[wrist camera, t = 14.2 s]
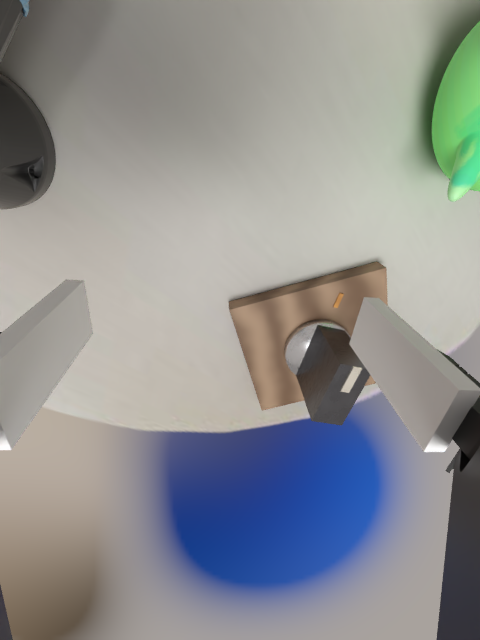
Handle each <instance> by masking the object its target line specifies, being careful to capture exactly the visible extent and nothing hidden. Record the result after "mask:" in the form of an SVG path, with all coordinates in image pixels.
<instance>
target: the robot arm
mask: <svg viewBox="0 0 480 640" xmlns="http://www.w3.org/2000/svg"><path fill="white" fill-rule="evenodd" d="M28 2H29V0H0V62H1V60H2V58H3V56H4V54H5V52H6V50H7V47H8V45H9V43H10V41H11V39H12V37H13V35H14V33H15V30H16V28H17V26H18V24H19V22H20V20H21V18H22V16H24V17H26V16H27V15H28V12H29V4H28ZM54 170H55V151H54V145H53V141H52V137H51V134H50V132H49V129H48V127H47V125H46V122H45V120H44V119H43V117H42V115H41V113H40V112H39V110H38V109H37V107H36V106H35V104H34V103H33V102H32V101H31V99H30V98H29V97H28V96H27V95H26V94H25V93H24V92H23V91H22V90H21V89H20V88H19V87H18V86H17V85H16V84H15V83H13V82H12V81H11V80H9V79H8V78H7V77H5V76H4V75H2V74H0V209H11V208H16V207H20V206H24V205H27V204H30V203H32V202H34V201H36V200H37V199H39V198H40V197H41V196H42V195H43V194H44V193H45V192H46V190H47V189H48V187H49V186H50V183H51V181H52V178H53V175H54ZM92 334H93V331H92V325H91V319H90V313H89V307H88V301H87V295H86V289H85V283H84V281H80V280H65V281H64V282H63V283H61V284H60V285H59V286H58V287H57V288H55V289H54V290H53V291H52V292H50V293H49V294H48V295H47V296H46V297H44V298H43V299H42V300H41V301H40V302H38V303H37V304H36V305H35V306H33V307H32V308H31V309H30V310H29V311H27V312H26V313H25V314H24V315H23V316H21V317H20V318H19V319H18V320H16V321H15V322H14V323H13V324H12V325H10V326H9V327H8V328H7V329H6V330H4V331H3V332H0V450H12V448H13V447H14V446H15V444H16V443H17V441H18V440H19V439H20V437H21V436H22V434H23V433H24V431H25V430H26V428H27V427H28V425H29V424H30V423H31V421H32V420H33V418H34V417H35V416H36V414H37V413H38V411H39V410H40V408H41V407H42V406H43V404H44V403H45V401H46V400H47V398H48V397H49V396H50V394H51V393H52V391H53V390H54V388H55V387H56V386H57V384H58V383H59V381H60V380H61V378H62V377H63V376H64V374H65V373H66V371H67V370H68V368H69V367H70V366H71V364H72V363H73V361H74V360H75V358H76V357H77V356H78V354H79V353H80V351H81V350H82V348H83V347H84V346H85V344H86V343H87V341H88V340H89V338H90V337H91V335H92ZM349 345H350V346H351V348H352V349H353V350H354V352H355V353H356V355H357V356H358V358H359V359H360V361H361V362H362V363H363V365H364V366H365V368H366V369H367V371H368V372H369V374H370V375H371V376H372V378H373V379H374V381H375V382H376V384H377V385H378V386H379V388H380V389H381V391H382V392H383V394H384V395H385V397H386V398H387V399H388V401H389V402H390V404H391V405H392V407H393V408H394V410H395V411H396V412H397V414H398V415H399V417H400V418H401V420H402V421H403V423H404V424H405V425H406V427H407V428H408V430H409V431H410V432H411V434H412V435H413V437H414V438H415V440H416V441H417V443H418V444H419V446H420V447H421V448H422V450H423V451H424V452H445V450H446V449H447V447H448V446H449V444H450V442H451V441H452V439H453V440H454V441H455V443H456V444H457V445H458V446H459V447H460V449H459V451H458V452H457V454H456V455H455V457H454V458H453V460H452V461H451V463H450V464H449V466H448V468H447V469H446V471H447V472H449V473H450V471H451V470H452V469H454V473H453V483H452V493H451V503H450V513H449V523H448V533H447V543H446V552H445V563H444V572H443V582H442V592H441V602H440V612H439V622H438V632H437V640H480V383H479V382H478V381H477V380H476V379H474V378H473V377H472V376H471V375H470V374H467V372H466V371H465V370H464V369H463V368H462V367H459V365H458V364H457V363H456V362H455V361H454V360H453V359H452V358H450V357H449V356H447V355H446V354H444V353H442V352H440V351H439V350H437V349H435V348H434V347H433V346H432V345H431V344H430V343H429V342H428V341H426V340H425V339H424V338H423V337H422V336H421V335H420V334H419V333H418V332H416V331H415V330H414V329H413V328H412V327H411V326H410V325H409V324H407V323H406V322H405V321H404V320H403V319H402V318H401V317H400V316H398V315H397V314H396V313H395V312H394V311H393V310H392V309H391V308H389V307H388V306H387V305H386V304H385V303H384V302H383V301H382V300H380V299H379V298H370V297H364V299H363V302H362V305H361V308H360V311H359V315H358V318H357V321H356V324H355V327H354V330H353V334H352V337H351V340H350V343H349ZM0 640H13V639H12V635H11V630H10V626H9V621H8V617H7V612H6V608H5V604H4V599H3V595H2V590H1V586H0Z"/></svg>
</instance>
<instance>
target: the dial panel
mask: <svg viewBox="0 0 480 640" xmlns="http://www.w3.org/2000/svg"><path fill="white" fill-rule="evenodd" d="M364 297H370V298H379V299H380V300H382V301H383V302H384V303H385V304H386V305H387V306H388V304H387V274H386V267H384V266H383V265H381V264H380V263H378V262H374V263H370V264H367V265H363V266H359V267H355V268H352V269H348V270H344V271H341V272H337V273H333V274H330V275H326V276H322V277H318V278H315V279H311V280H307V281H304V282H300V283H296V284H293V285H289V286H285V287H281V288H278V289H274V290H270V291H267V292H263V293H259V294H256V295H252V296H248V297H244V298H241V299H237V300H233V301H230V302H229V310H230V313H231V316H232V319H233V322H234V325H235V329H236V332H237V335H238V338H239V341H240V344H241V347H242V350H243V353H244V356H245V360H246V363H247V366H248V369H249V372H250V375H251V378H252V381H253V384H254V387H255V390H256V394H257V397H258V400H259V403H260V406H261V409H262V410H266V409H270V408H274V407H278V406H283V405H287V404H291V403H295V402H299V401H303V400H304V397H303V394H302V391H301V388H300V385H299V383H298V380H297V377H296V375H295V374H294V373H293V372H292V371H291V370H290V369H289V367H288V365H287V362H286V359H285V355H284V348H285V344H286V341H287V339H288V337H289V336H290V335H291V333H292V332H293V331H294V330H295V329H297V328H298V327H299V326H301V325H303V324H305V323H307V322H310V321H313V320H320V319H322V320H331V321H334V322H336V323H338V324H340V325H341V326H342V327H343V328H344V329H345V330H346V331H347V333H348V334H349V335H350V337H352V334H353V330H354V327H355V324H356V321H357V318H358V315H359V311H360V308H361V305H362V302H363V299H364ZM375 383H376V382H375V381H374V379H373V378H372V376H371V375H370V377H369V379H368V380H367V382H366V384H365V386H366V385H370V384H375Z"/></svg>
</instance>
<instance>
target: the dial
mask: <svg viewBox="0 0 480 640" xmlns="http://www.w3.org/2000/svg"><path fill="white" fill-rule="evenodd" d="M350 340H351V337H350V335H349V334H348V333H347V331H346V330H345V329H344V328H343V327H342V326H341V325H340V324H338V323H336V322H334V321H331V320H322V319H320V320H313V321H310V322H307V323H305V324H303V325H301V326H299V327H298V328H297V329H295V330H294V331H293V332H292V333H291V335H290V336H289V337H288V339H287V341H286V344H285V348H284V355H285V359H286V362H287V365H288V367H289V369H290V370H291V371H292V372H293V373H294V374H295V375H296V377H297V380H298V383H299V385H300V388H301V391H302V394H303V397H304V400H305V403H306V406H307V409H308V412H309V414H310V417H311V420H312V421H316V422H324V423H330V424H336V425H342V424H343V422H344V421H345V419H346V417H347V415H348V413H349V412H350V410H351V408H352V407H353V405H354V403H355V401H356V400H357V398H358V396H359V394H360V393H361V391H362V389H363V387H364V386H365V384H366V382H367V380H368V379H369V377H370V374H369V372H368V371H367V369H366V368H365V366H364V365H363V363H362V362H361V361H360V359H359V358H358V356H357V355H356V353H355V352H354V350H353V349H352V348H351V346H350V345H349V343H350Z"/></svg>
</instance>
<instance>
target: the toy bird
mask: <svg viewBox="0 0 480 640" xmlns="http://www.w3.org/2000/svg"><path fill="white" fill-rule="evenodd" d="M432 143H433V149H434V153H435V157H436V159H437V162H438V164H439V166H440V168H441V170H442V171H443V172H444V174H445V175H446V176H447V177H448V178H449V179H450V182H449V187H448V199H449V200H450V201H452V202H454V201H457V200H458V199H460V198H461V197H462V196H463V195H464V194H465V193H466V192H467V191H468V190H469V189H470V190H474V191H480V21H479V22H478V23H477V24H476V25H475V26H474V27H473V29H472V30H471V31H470V32H469V33H468V35H467V36H466V37H465V39H464V40H463V41H462V43H461V44H460V46H459V47H458V49H457V50H456V52H455V54H454V55H453V57H452V59H451V61H450V63H449V65H448V67H447V69H446V71H445V74H444V76H443V78H442V81H441V84H440V87H439V90H438V93H437V96H436V100H435V105H434V110H433V117H432Z"/></svg>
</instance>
